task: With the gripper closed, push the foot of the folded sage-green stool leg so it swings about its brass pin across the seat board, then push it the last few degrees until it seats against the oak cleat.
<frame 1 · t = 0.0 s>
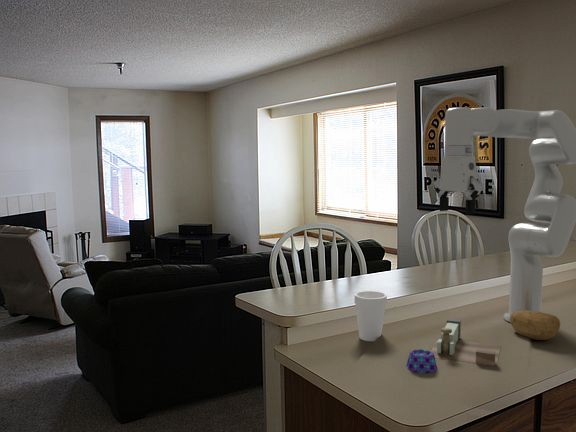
hand: (456, 212, 161), 37 cm above the worktop, tool pointing down, fingers open, 9 cm apart
foam cup: (370, 338, 167), on the worktop
purple spotted dome: (421, 373, 141), on the worktop
potato: (533, 339, 165), on the worktop
stool seat: (445, 357, 150), on the worktop
leg: (449, 335, 156), point 4 cm above the worktop, hinge at 0.0°
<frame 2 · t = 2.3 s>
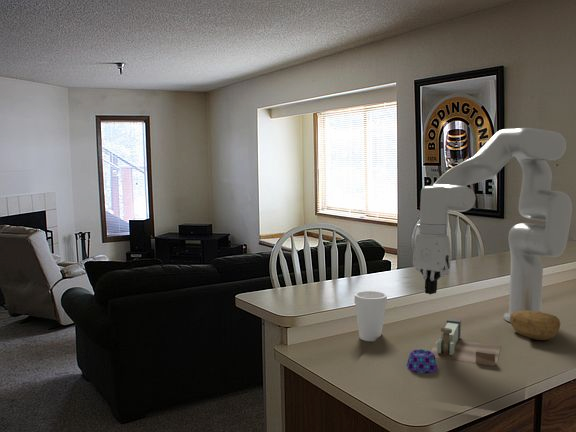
hand: (430, 293, 161), 14 cm above the worktop, tool pointing down, fingers closed
nothing on the worktop moved.
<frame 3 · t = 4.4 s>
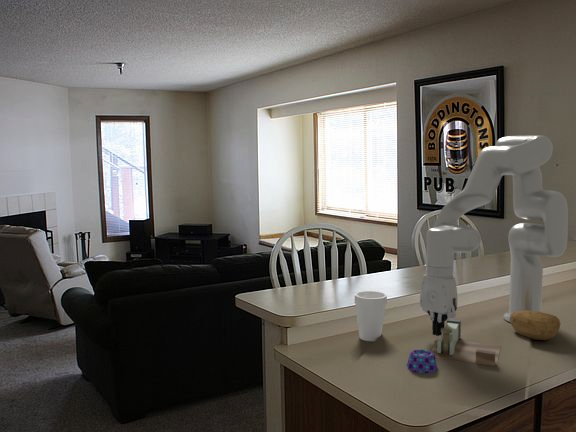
hand: (438, 334, 161), 3 cm above the worktop, tool pointing down, fingers closed
leg: (450, 335, 156), point 4 cm above the worktop, hinge at 0.2°, touching gripper
everything else where it was.
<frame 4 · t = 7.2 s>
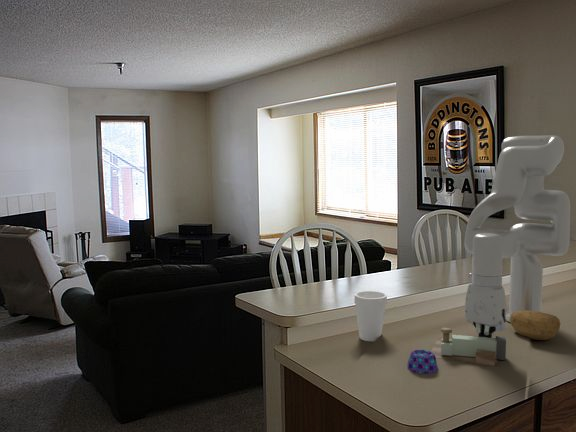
hand: (484, 347, 151), 2 cm above the worktop, tool pointing down, fingers closed
leg: (472, 345, 148), point 4 cm above the worktop, hinge at 81.3°, touching gripper
everything else where it was.
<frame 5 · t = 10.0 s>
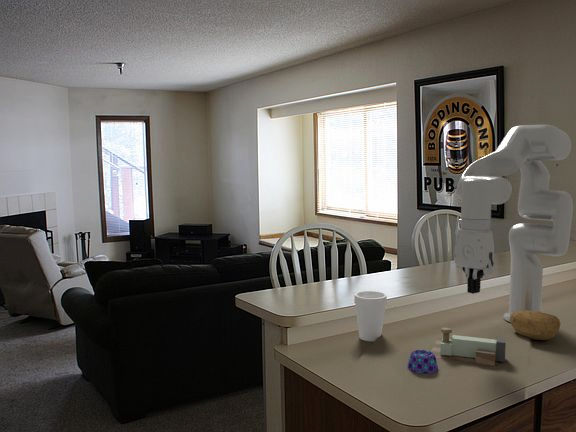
hand: (473, 292, 152), 17 cm above the worktop, tool pointing down, fingers closed
leg: (472, 346, 147), point 4 cm above the worktop, hinge at 87.2°
everything else where it was.
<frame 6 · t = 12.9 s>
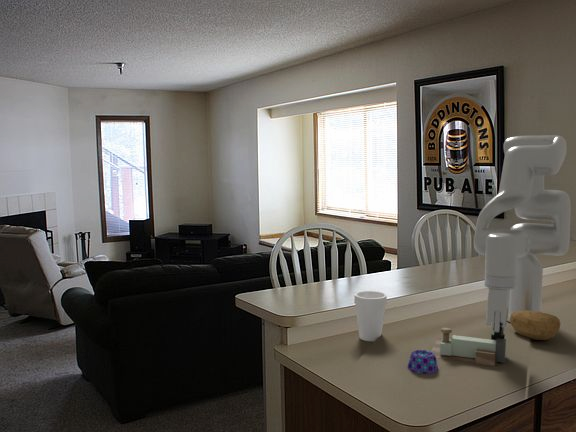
hand: (497, 349, 149), 3 cm above the worktop, tool pointing down, fingers closed
leg: (472, 346, 147), point 4 cm above the worktop, hinge at 89.5°, touching gripper
everything else where it was.
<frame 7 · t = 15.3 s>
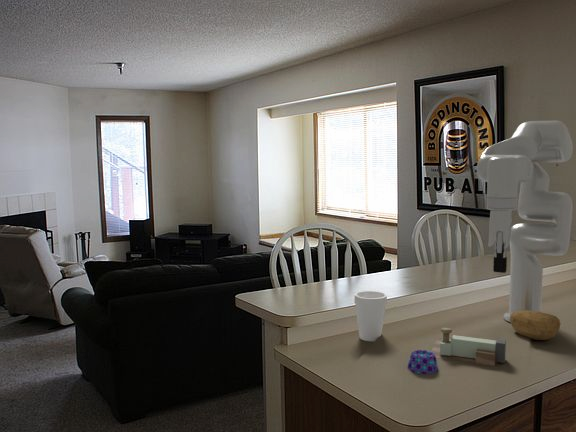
hand: (499, 271, 151), 22 cm above the worktop, tool pointing down, fingers closed
leg: (472, 346, 147), point 4 cm above the worktop, hinge at 90.5°
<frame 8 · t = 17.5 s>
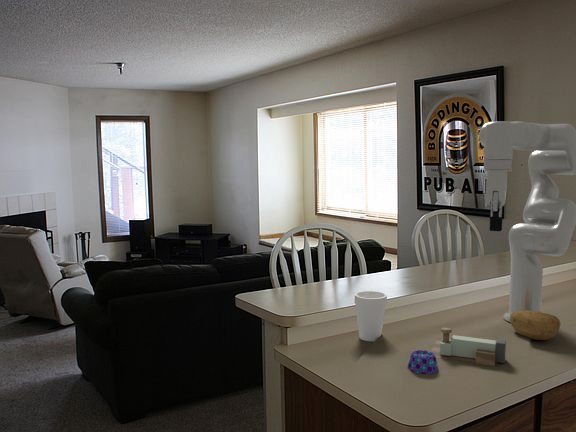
hand: (495, 230, 160), 32 cm above the worktop, tool pointing down, fingers closed
at the end: leg at +90° (first picture: +0°) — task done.
